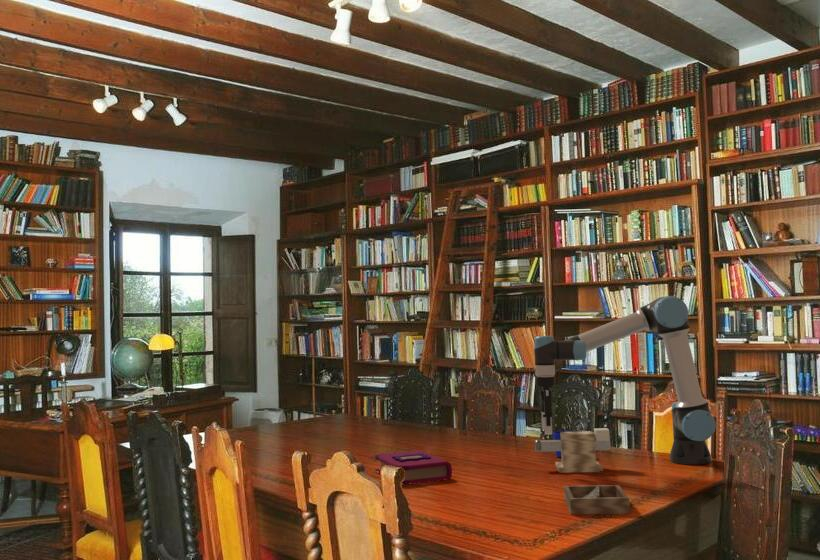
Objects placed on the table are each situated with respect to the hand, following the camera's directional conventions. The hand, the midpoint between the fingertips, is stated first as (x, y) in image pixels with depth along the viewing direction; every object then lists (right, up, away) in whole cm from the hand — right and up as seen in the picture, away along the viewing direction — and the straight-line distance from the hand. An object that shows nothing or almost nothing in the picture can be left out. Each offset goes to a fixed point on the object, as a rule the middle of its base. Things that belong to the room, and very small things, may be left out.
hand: (547, 431), depth 285 cm
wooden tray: (+4, -11, -58) cm, 59 cm away
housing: (+12, -14, -2) cm, 18 cm away
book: (-52, -17, -3) cm, 54 cm away
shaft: (+10, -7, -1) cm, 12 cm away
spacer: (+21, -3, -2) cm, 21 cm away
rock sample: (+3, -11, -57) cm, 59 cm away
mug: (+13, -15, +22) cm, 30 cm away
